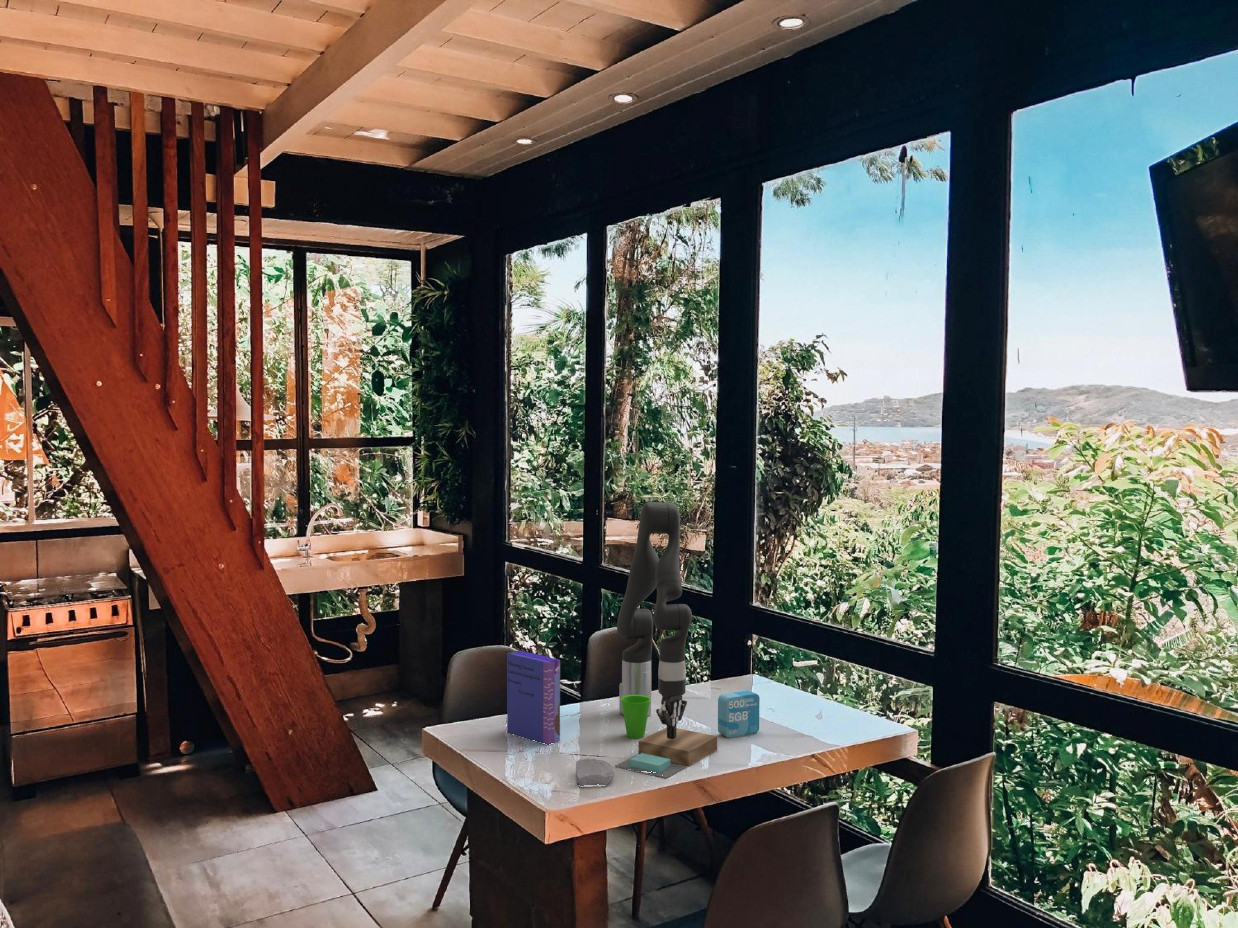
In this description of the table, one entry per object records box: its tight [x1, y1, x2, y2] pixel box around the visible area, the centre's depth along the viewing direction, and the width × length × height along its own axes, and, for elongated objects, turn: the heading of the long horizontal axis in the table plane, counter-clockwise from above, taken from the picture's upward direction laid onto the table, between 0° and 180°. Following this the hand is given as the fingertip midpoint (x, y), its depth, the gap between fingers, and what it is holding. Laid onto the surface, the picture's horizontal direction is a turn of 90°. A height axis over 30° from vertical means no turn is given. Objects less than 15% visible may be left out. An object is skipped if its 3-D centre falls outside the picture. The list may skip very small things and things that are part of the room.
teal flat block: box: [630, 753, 672, 773], centre depth 263 cm, size 9×6×2 cm, turn 57°
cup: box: [620, 695, 652, 739], centre depth 290 cm, size 9×9×11 cm
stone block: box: [575, 757, 615, 786], centre depth 254 cm, size 12×5×10 cm
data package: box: [717, 690, 761, 739], centre depth 293 cm, size 12×4×12 cm, turn 118°
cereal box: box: [506, 650, 561, 746], centre depth 288 cm, size 17×5×24 cm, turn 48°
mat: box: [614, 755, 687, 779], centre depth 263 cm, size 16×10×1 cm, turn 56°
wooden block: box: [637, 726, 718, 767], centre depth 275 cm, size 16×16×4 cm
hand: (671, 738), depth 273 cm, fingers closed
